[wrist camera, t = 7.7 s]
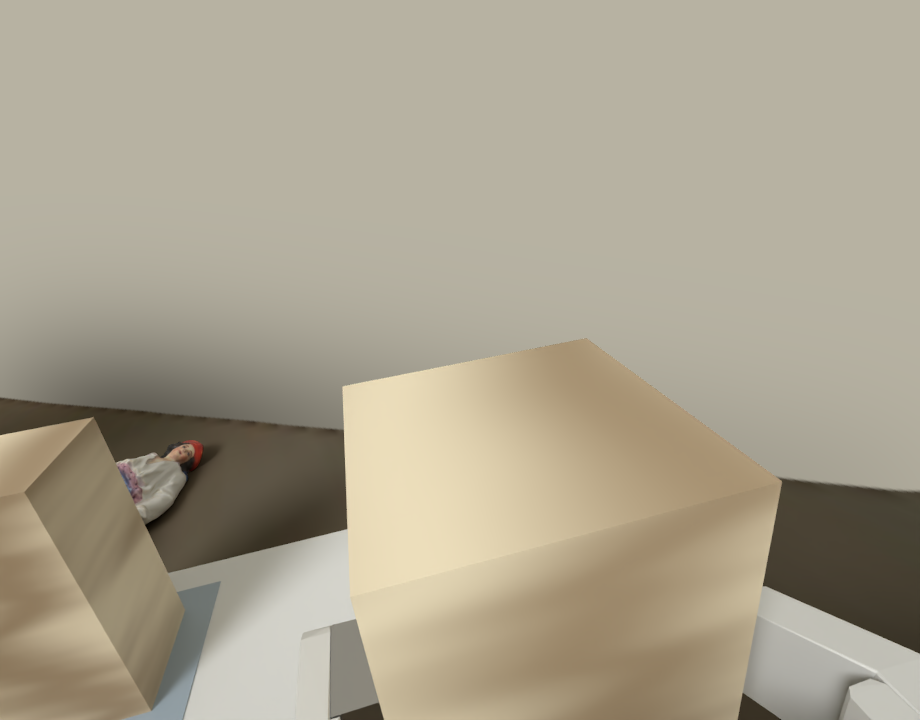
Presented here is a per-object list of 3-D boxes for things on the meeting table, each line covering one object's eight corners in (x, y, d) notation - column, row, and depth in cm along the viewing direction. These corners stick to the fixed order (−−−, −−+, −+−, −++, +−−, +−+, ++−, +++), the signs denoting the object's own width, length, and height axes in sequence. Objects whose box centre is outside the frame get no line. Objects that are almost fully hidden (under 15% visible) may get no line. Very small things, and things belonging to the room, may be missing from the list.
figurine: (-211, 546, 20) (166, 386, 36) (-161, 662, 22) (171, 464, 39) (-83, 617, 18) (253, 416, 34) (-44, 735, 21) (253, 495, 37)
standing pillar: (15, 749, 18) (-160, 530, 14) (75, 638, 22) (-45, 443, 18) (151, 710, 18) (24, 491, 14) (185, 610, 22) (93, 417, 18)
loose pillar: (465, 1016, 9) (350, 597, 4) (423, 738, 13) (342, 386, 9) (700, 918, 9) (782, 481, 5) (588, 685, 13) (586, 338, 9)
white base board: (-58, 887, 15) (-86, 862, 15) (87, 617, 24) (74, 595, 24) (572, 687, 19) (571, 659, 18) (496, 514, 28) (494, 492, 27)
